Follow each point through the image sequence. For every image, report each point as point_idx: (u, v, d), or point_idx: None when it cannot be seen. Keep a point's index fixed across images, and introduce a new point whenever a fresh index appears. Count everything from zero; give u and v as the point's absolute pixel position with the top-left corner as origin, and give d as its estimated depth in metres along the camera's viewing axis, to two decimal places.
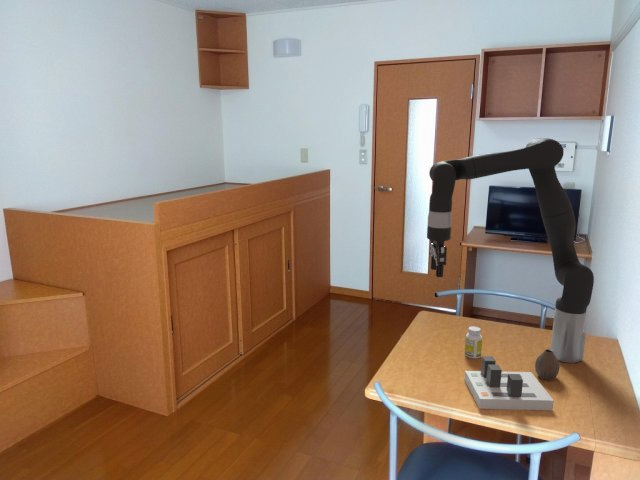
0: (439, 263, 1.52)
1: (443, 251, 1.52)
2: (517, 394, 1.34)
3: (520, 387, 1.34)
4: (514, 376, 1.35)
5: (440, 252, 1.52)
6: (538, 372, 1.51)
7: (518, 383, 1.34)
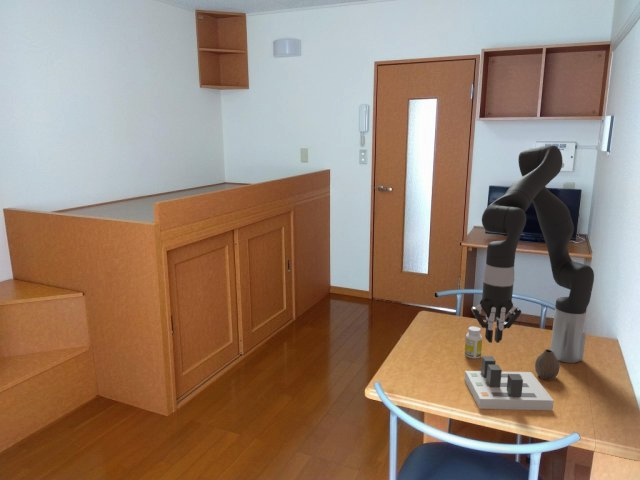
0: None
1: None
2: (517, 394, 1.34)
3: (520, 387, 1.34)
4: (514, 376, 1.35)
5: None
6: (538, 372, 1.51)
7: (518, 383, 1.34)
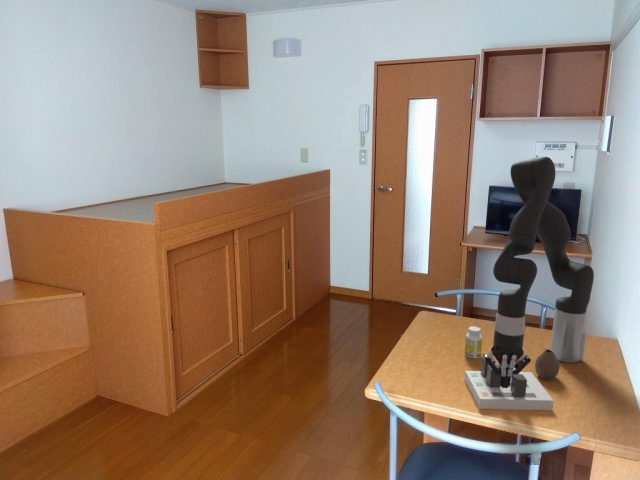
0: None
1: None
2: (521, 394, 1.34)
3: (524, 387, 1.34)
4: (518, 376, 1.35)
5: None
6: (538, 372, 1.51)
7: (522, 383, 1.34)
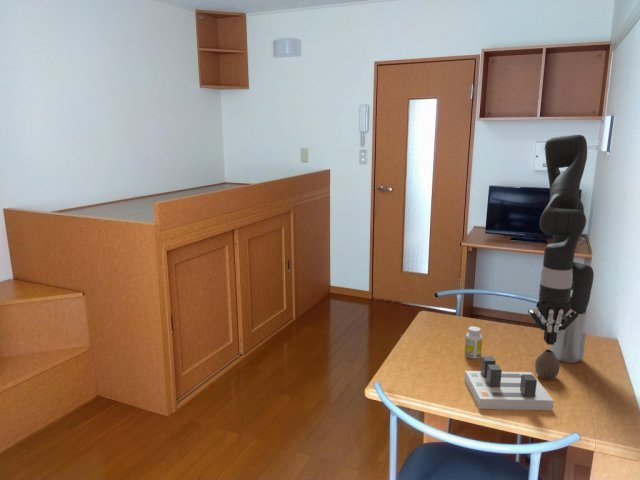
0: None
1: None
2: (531, 394, 1.34)
3: (534, 387, 1.34)
4: (527, 376, 1.35)
5: None
6: (538, 372, 1.51)
7: (532, 384, 1.34)
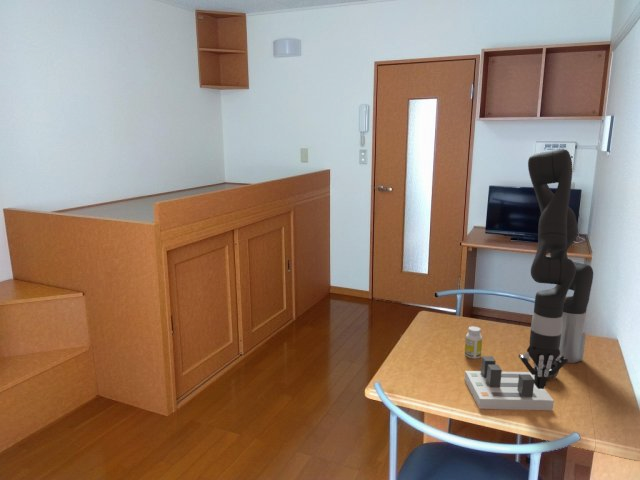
0: None
1: None
2: (528, 394, 1.34)
3: (531, 387, 1.34)
4: (525, 376, 1.35)
5: None
6: None
7: (530, 383, 1.34)
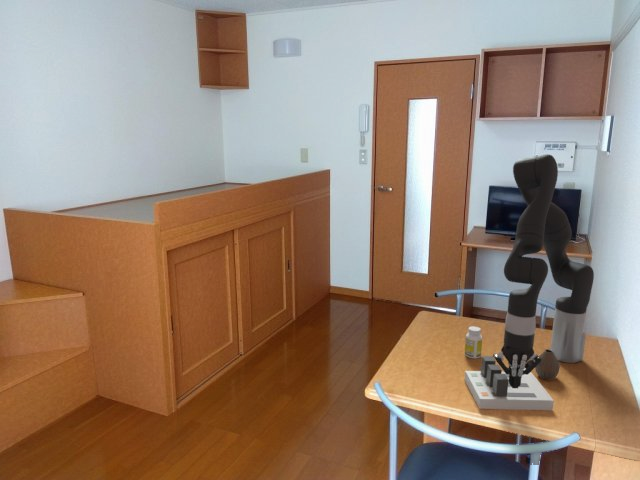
0: None
1: None
2: (503, 394, 1.35)
3: (506, 387, 1.34)
4: (499, 376, 1.35)
5: None
6: (538, 372, 1.51)
7: (504, 383, 1.34)
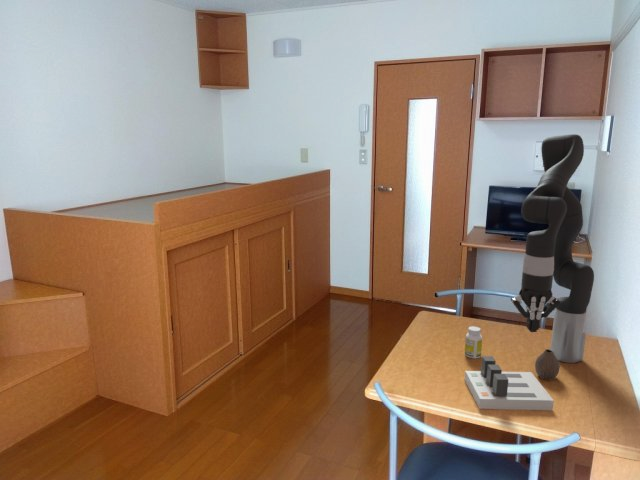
0: None
1: None
2: (502, 394, 1.35)
3: (505, 387, 1.34)
4: (499, 376, 1.35)
5: None
6: (538, 372, 1.51)
7: (504, 383, 1.34)
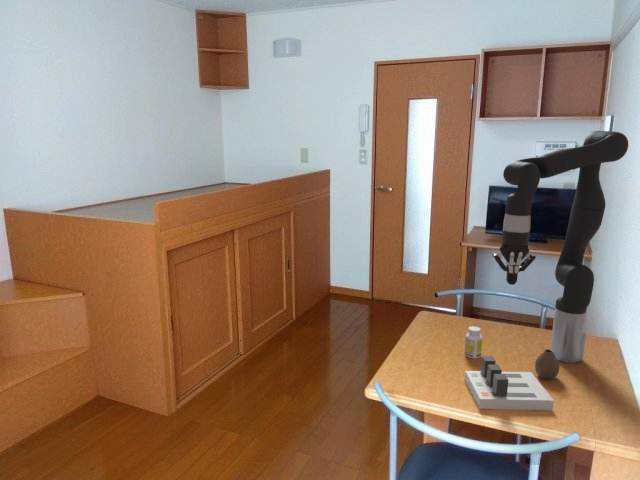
0: None
1: None
2: (502, 394, 1.35)
3: (505, 387, 1.34)
4: (499, 376, 1.35)
5: None
6: (538, 372, 1.51)
7: (504, 383, 1.34)
